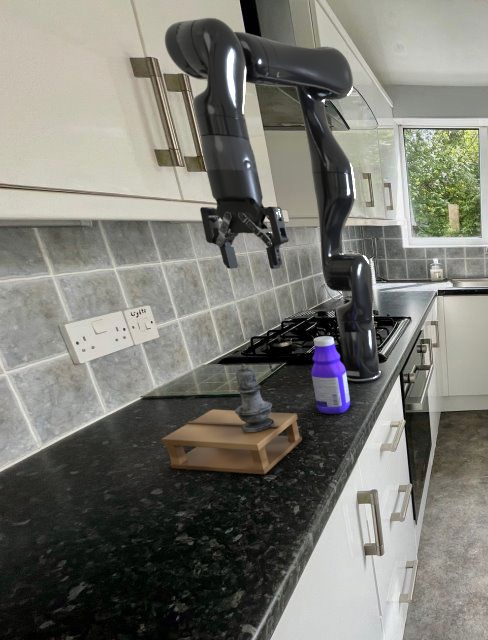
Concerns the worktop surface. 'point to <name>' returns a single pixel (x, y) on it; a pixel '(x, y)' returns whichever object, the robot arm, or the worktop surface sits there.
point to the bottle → (329, 378)
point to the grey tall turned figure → (252, 402)
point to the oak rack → (231, 443)
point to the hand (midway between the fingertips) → (253, 268)
